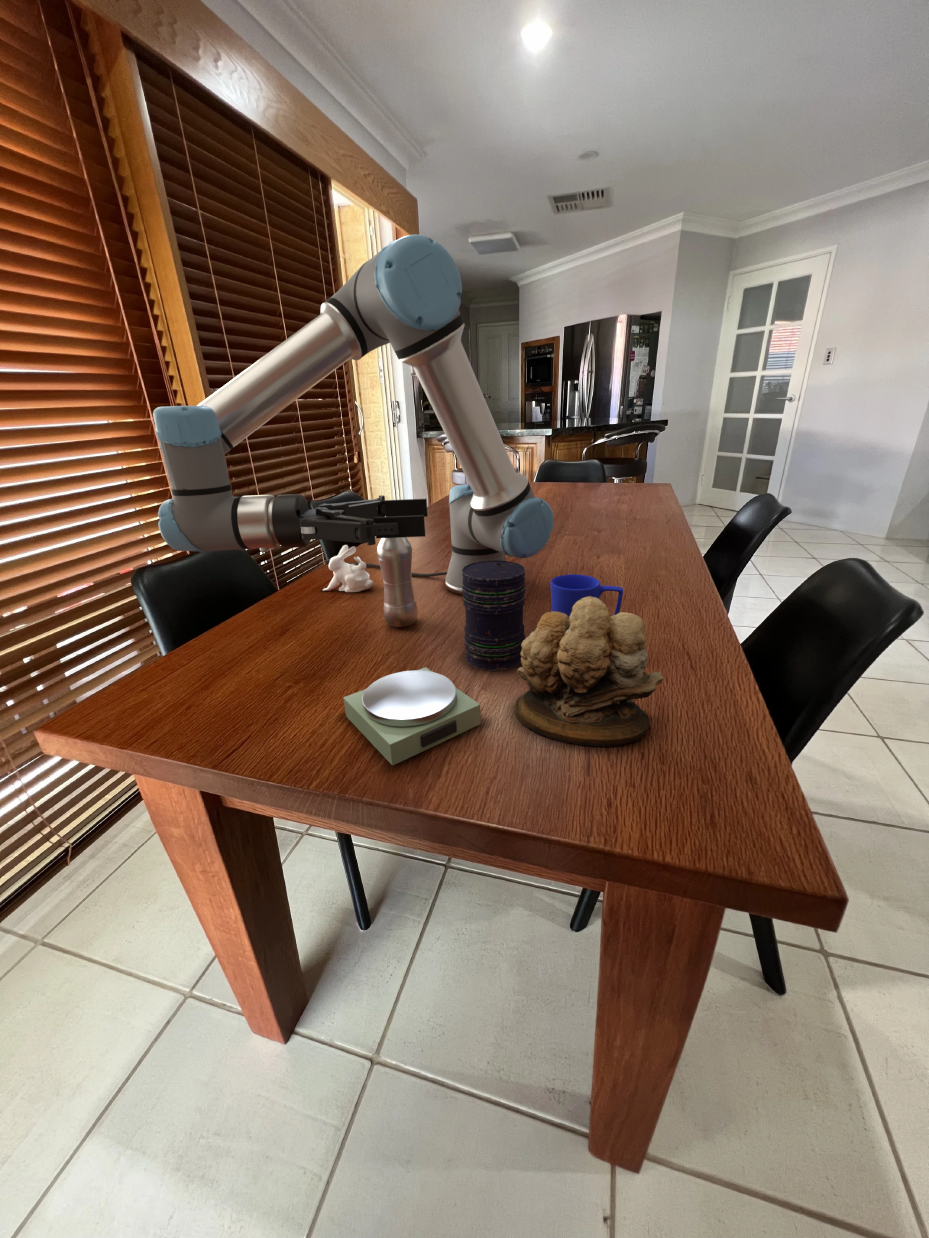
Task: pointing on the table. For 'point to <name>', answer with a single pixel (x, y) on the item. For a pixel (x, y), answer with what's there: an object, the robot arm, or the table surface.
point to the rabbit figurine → (348, 572)
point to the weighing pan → (409, 698)
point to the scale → (412, 727)
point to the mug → (577, 591)
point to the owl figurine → (586, 676)
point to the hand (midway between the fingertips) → (426, 515)
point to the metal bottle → (397, 581)
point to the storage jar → (494, 613)
